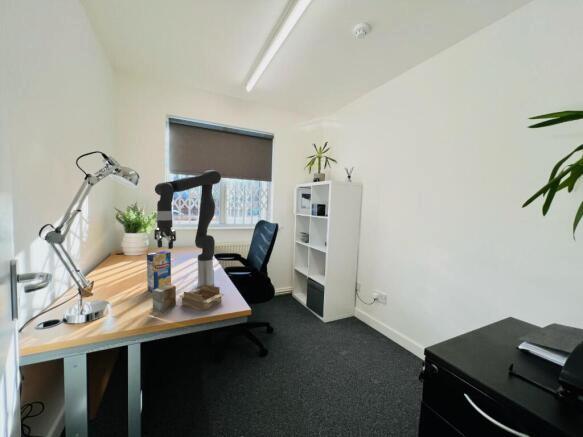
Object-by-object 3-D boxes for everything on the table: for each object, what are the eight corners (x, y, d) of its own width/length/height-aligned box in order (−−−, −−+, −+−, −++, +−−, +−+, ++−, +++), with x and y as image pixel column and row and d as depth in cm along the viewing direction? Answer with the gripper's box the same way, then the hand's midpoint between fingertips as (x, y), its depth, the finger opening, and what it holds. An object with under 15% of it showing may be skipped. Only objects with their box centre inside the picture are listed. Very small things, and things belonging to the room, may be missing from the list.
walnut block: (169, 303, 121) (168, 284, 120) (175, 304, 119) (175, 286, 118) (152, 310, 113) (152, 290, 112) (159, 312, 111) (159, 291, 110)
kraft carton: (198, 296, 131) (198, 282, 131) (224, 302, 124) (224, 288, 123) (178, 305, 119) (178, 290, 119) (206, 313, 112) (206, 297, 111)
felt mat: (166, 303, 122) (166, 302, 122) (178, 306, 118) (178, 305, 118) (150, 310, 113) (150, 309, 113) (162, 314, 110) (162, 313, 110)
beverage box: (147, 289, 140) (146, 254, 139) (164, 284, 150) (164, 251, 148) (153, 291, 137) (153, 255, 135) (171, 286, 146) (170, 252, 145)
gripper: (179, 219, 127) (180, 248, 128) (162, 218, 133) (162, 245, 134) (167, 220, 121) (168, 250, 122) (149, 218, 126) (150, 248, 127)
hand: (165, 248), depth 128 cm, fingers open, 8 cm apart
